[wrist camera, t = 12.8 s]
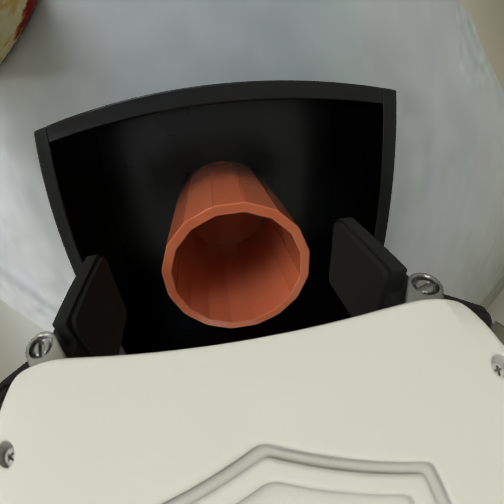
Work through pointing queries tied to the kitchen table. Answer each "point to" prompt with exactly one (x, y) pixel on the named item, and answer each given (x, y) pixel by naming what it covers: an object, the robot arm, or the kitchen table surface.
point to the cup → (232, 249)
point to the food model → (13, 22)
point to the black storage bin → (204, 152)
